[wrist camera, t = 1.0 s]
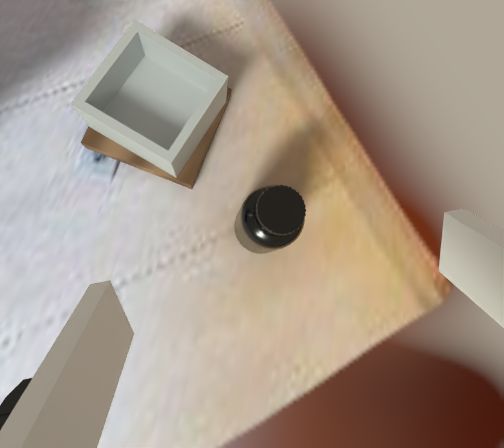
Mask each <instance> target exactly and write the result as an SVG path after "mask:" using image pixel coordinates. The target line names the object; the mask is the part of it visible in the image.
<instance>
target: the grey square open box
mask: <svg viewBox="0 0 504 448" xmlns="http://www.w3.org/2000/svg"><path fill="white" fill-rule="evenodd" d="M228 77H229V76H227V75H225V74H224V73H222V72H220V71H219V70H217V69H216V68H214V67H212V66H211V65H209V64H207V63H206V62H204V61H202V60H201V59H199V58H197V57H196V56H194V55H192V54H191V53H189V52H187V51H186V50H184V49H183V48H181V47H179V46H178V45H176V44H174V43H173V42H171V41H169V40H168V39H166V38H164V37H163V36H161V35H159V34H158V33H156V32H154V31H153V30H151V29H150V28H148V27H146V26H145V25H143V24H141V23H140V22H138V21H136V20H134V22H133V23H132V24H131V26H130V27H129V28H128V30H127V31H126V32H125V33H124V35H123V36H122V37H121V39H120V40H119V41H118V43H117V44H116V45H115V47H114V48H113V49H112V50H111V52H110V53H109V54H108V56H107V57H106V58H105V60H104V61H103V62H102V64H101V65H100V66H99V67H98V69H97V70H96V71H95V73H94V74H93V75H92V77H91V78H90V79H89V80H88V82H87V83H86V84H85V86H84V87H83V88H82V90H81V91H80V92H79V94H78V95H77V96H76V97H75V99H74V100H73V101H72V103H71V105H72V106H73V108H74V109H75V110H76V111H77V112H78V114H79V115H80V116H81V117H82V118H83V119H84V121H85V122H86V123H87V124H88V125H89V127H90V128H92V129H94V130H95V131H97V132H99V133H101V134H102V135H104V136H106V137H107V138H109V139H111V140H113V141H114V142H116V143H118V144H119V145H121V146H123V147H125V148H126V149H128V150H130V151H131V152H133V153H135V154H136V155H138V156H140V157H142V158H143V159H145V160H147V161H148V162H150V163H152V164H154V165H155V166H157V167H159V168H160V169H162V170H164V171H165V172H167V173H169V174H171V175H172V176H174V177H176V178H177V177H178V175H179V174H180V172H181V170H182V169H183V167H184V166H185V164H186V163H187V161H188V160H189V158H190V157H191V155H192V154H193V152H194V150H195V149H196V147H197V146H198V144H199V143H200V141H201V140H202V138H203V137H204V135H205V133H206V132H207V130H208V129H209V127H210V126H211V124H212V123H213V121H214V120H215V118H216V116H217V115H218V113H219V112H220V110H221V109H222V107H223V106H224V104H225V103H226V97H227V87H228Z"/></svg>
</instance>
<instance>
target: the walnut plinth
mask: <svg viewBox="0 0 504 448" xmlns="http://www.w3.org/2000/svg"><path fill="white" fill-rule="evenodd" d="M230 96H231V89H230V88H228V87H227V97H226V103H225V104H224V106H223V107H222V109H221V110H220V112H219V113H218V115H217V116H216V118H215V120H214V121H213V123H212V124H211V126H210V127H209V129H208V130H207V132H206V133H205V135H204V137H203V138H202V140H201V141H200V143H199V144H198V146H197V147H196V149H195V150H194V152H193V154H192V155H191V157H190V158H189V160H188V161H187V163H186V164H185V166H184V167H183V169H182V170H181V172H180V174H179V175H178V177H177V178H176V177H174V176H172V175H171V174H169V173H167V172H165V171H164V170H162V169H160V168H159V167H157V166H155V165H154V164H152V163H150V162H148V161H147V160H145V159H143V158H142V157H140V156H138V155H136V154H135V153H133V152H131V151H130V150H128V149H126V148H125V147H123V146H121V145H119V144H118V143H116V142H114V141H113V140H111V139H109V138H107V137H106V136H104V135H102V134H101V133H99V132H97V131H95V130H94V129H92V128H90V127H88V129H87V131H86V133H85V135H84V137H83V139H82V141H81V143H82V144H83V145H84V146H85V147H86V148H87V149H90V150H93V151H95V152H98V153H100V154H103V155H105V156H108V157H111V158H113V159H116V160H118V161H121V162H123V163H126V164H129V165H131V166H134V167H136V168H139V169H141V170H144V171H147V172H149V173H152V174H154V175H157V176H159V177H162V178H165V179H167V180H170V181H172V182H175V183H177V184H180V185H183V186H185V187H188V188H190V189H192V188H193V185H194V183H195V180H196V178H197V176H198V173H199V171H200V168H201V166H202V164H203V161H204V159H205V156H206V154H207V152H208V149H209V147H210V144H211V142H212V140H213V137H214V135H215V132H216V130H217V128H218V125H219V123H220V120H221V118H222V116H223V113H224V111H225V108H226V106H227V104H228V101H229V99H230Z"/></svg>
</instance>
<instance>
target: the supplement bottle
mask: <svg viewBox="0 0 504 448" xmlns="http://www.w3.org/2000/svg"><path fill="white" fill-rule="evenodd" d="M305 212H306V209H305V204H304V201H303V199H302V197H301V196H300V195H299V193H298V192H296V191H295V190H294V189H292V188H291V187H287V186H283V185H280V186H278V185H268V186H263V187H260V188H258V189H256V190H255V191H253V192H252V193H251V194H250V195H249V196H248V197H247V198H246V200H245V202H244V203H243V205H242V207H241V209H240V211H239V213H238V215H237V217H236V220H235V233H236V237H237V239H238V241H239V242H240V244H241V245H242V246H243V247H244V248H246V249H247V250H249V251H251V252H254V253H261V254H262V253H269V252H272V251H275V250H278V249H281V248H284V247H286V246H288V245H290V244H291V243H293V242H294V241H295V240H296V239H297V238H298V237H299V235H300V233H301V232H302V229H303V226H304V221H305Z"/></svg>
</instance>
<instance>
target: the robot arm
mask: <svg viewBox="0 0 504 448" xmlns="http://www.w3.org/2000/svg"><path fill="white" fill-rule="evenodd" d="M439 272H440V273H442V274H443V275H444V276H445V277H446V278H447V279H448V280H450V281H451V282H452V283H453V284H454V285H455V286H456V287H458V288H459V289H460V290H461V291H462V292H463V293H465V294H466V295H467V296H468V297H469V298H470V299H471V300H472V301H474V302H475V303H476V304H477V305H478V306H479V307H480V308H482V309H483V310H484V311H485V312H486V313H487V314H488V315H490V316H491V317H492V318H493V319H494V320H495V321H497V322H498V323H499V324H500V325H501V326H502V327H503V328H504V230H503V229H501V228H499V227H497V226H495V225H494V224H492V223H490V222H488V221H486V220H484V219H482V218H480V217H479V216H477V215H475V214H473V213H471V212H469V211H467V210H466V209H460V210H454V211H449V212H445V213H444V223H443V233H442V243H441V254H440V264H439ZM133 336H134V332H133V330H132V328H131V326H130V324H129V321H128V319H127V317H126V315H125V312H124V310H123V308H122V306H121V304H120V301H119V299H118V297H117V295H116V292H115V290H114V288H113V286H112V284H111V281H105V282H100V283H95V284H90V286H89V287H88V289H87V291H86V292H85V294H84V295H83V297H82V299H81V300H80V302H79V304H78V305H77V307H76V308H75V310H74V312H73V313H72V315H71V317H70V318H69V320H68V321H67V323H66V325H65V326H64V328H63V329H62V331H61V333H60V334H59V336H58V338H57V339H56V341H55V342H54V344H53V346H52V347H51V349H50V351H49V352H48V354H47V355H46V357H45V359H44V360H43V362H42V364H41V365H40V367H39V368H38V370H37V372H36V373H35V375H34V377H33V378H29V379H24V380H23V381H22V382H21V383H20V384H19V385H18V386H17V387H16V388H15V389H14V390H13V391H12V392H11V393H10V394H9V395H8V396H7V397H6V398H5V399H4V401H3V402H2V404H1V405H0V448H97V446H98V443H99V440H100V437H101V434H102V430H103V427H104V424H105V421H106V418H107V415H108V412H109V409H110V406H111V403H112V400H113V397H114V394H115V391H116V388H117V385H118V382H119V378H120V375H121V372H122V369H123V366H124V363H125V360H126V357H127V354H128V351H129V348H130V345H131V342H132V339H133Z"/></svg>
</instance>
